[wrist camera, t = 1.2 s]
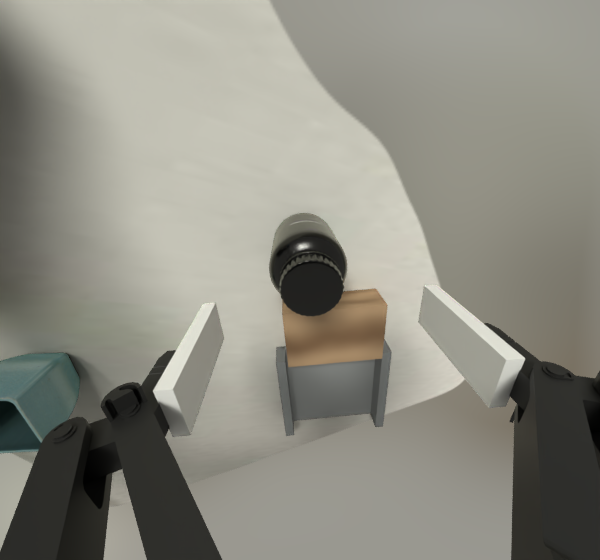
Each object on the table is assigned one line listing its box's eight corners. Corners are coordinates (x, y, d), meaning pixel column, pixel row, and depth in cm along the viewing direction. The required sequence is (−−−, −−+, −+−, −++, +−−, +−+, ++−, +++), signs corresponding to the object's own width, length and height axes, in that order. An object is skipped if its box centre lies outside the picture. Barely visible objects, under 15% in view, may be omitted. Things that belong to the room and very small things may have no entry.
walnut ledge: (282, 296, 32) (282, 314, 29) (375, 288, 33) (387, 304, 29) (287, 346, 36) (288, 367, 32) (372, 338, 36) (382, 358, 33)
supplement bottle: (310, 198, 27) (328, 225, 17) (343, 247, 30) (376, 298, 19) (260, 235, 29) (246, 281, 18) (295, 279, 31) (301, 342, 21)
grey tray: (276, 347, 36) (275, 362, 33) (383, 337, 36) (391, 352, 33) (286, 418, 42) (286, 435, 40) (376, 409, 43) (382, 426, 40)
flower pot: (100, 388, 37) (49, 452, 29) (36, 390, 37) (-34, 456, 29) (78, 340, 34) (12, 398, 25) (7, 342, 33) (-83, 402, 25)
